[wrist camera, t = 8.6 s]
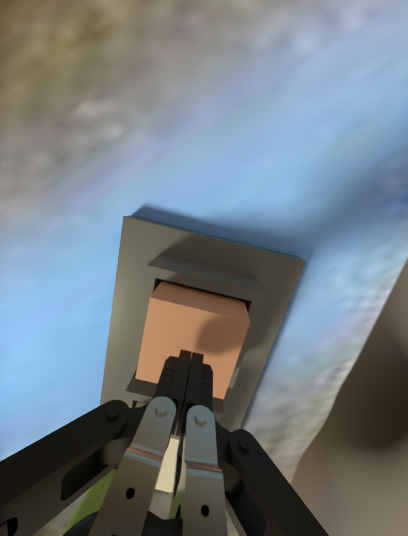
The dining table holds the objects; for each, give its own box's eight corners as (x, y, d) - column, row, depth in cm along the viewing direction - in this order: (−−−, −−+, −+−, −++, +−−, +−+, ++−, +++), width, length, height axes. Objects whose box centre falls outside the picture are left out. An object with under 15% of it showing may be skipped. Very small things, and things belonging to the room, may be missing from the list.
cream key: (130, 444, 22) (117, 480, 19) (139, 396, 20) (127, 428, 17) (192, 458, 22) (189, 496, 19) (207, 412, 20) (206, 446, 17)
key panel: (102, 421, 27) (78, 467, 22) (130, 215, 20) (102, 219, 15) (225, 449, 27) (227, 501, 22) (299, 257, 20) (325, 274, 15)
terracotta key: (147, 351, 18) (135, 378, 15) (161, 281, 16) (149, 297, 14) (222, 368, 18) (223, 399, 16) (244, 301, 17) (250, 321, 14)
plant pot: (73, 461, 30) (18, 561, 21) (138, 455, 29) (105, 558, 20) (96, 504, 32) (55, 609, 24) (156, 500, 31) (134, 609, 23)
